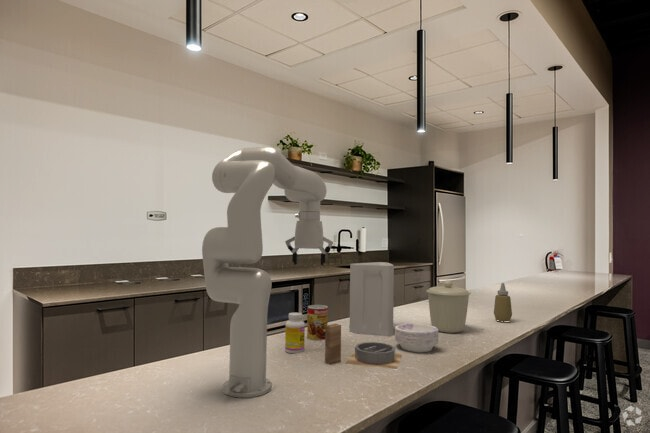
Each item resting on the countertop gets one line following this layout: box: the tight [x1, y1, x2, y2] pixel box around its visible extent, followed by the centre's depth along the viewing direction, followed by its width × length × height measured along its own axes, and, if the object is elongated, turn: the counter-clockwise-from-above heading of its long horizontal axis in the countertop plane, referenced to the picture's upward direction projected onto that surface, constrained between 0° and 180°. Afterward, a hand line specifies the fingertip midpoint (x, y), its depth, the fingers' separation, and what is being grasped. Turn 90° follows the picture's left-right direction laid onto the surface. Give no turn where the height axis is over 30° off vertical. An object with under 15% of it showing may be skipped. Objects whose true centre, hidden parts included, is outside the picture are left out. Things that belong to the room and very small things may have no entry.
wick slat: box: [324, 323, 342, 365], centre depth 132 cm, size 2×4×12 cm, turn 134°
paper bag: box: [349, 261, 395, 337], centre depth 174 cm, size 19×15×28 cm
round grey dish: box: [354, 341, 396, 365], centre depth 136 cm, size 13×13×4 cm
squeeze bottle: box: [493, 282, 513, 322], centre depth 198 cm, size 8×8×18 cm
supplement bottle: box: [284, 312, 306, 354], centre depth 145 cm, size 7×7×13 cm
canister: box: [425, 280, 471, 334], centre depth 179 cm, size 18×18×21 cm
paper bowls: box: [394, 323, 440, 353], centre depth 149 cm, size 15×15×8 cm
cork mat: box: [345, 350, 403, 370], centre depth 136 cm, size 16×16×1 cm
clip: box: [363, 346, 387, 353], centre depth 136 cm, size 5×6×3 cm
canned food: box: [306, 304, 329, 341], centre depth 164 cm, size 8×8×12 cm
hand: (308, 264), depth 151 cm, fingers open, 9 cm apart
